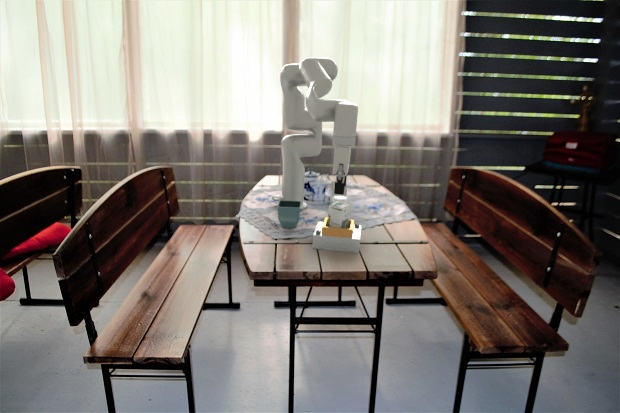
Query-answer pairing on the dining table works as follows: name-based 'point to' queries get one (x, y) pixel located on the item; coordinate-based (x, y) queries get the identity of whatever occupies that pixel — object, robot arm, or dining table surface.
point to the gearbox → (337, 237)
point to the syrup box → (339, 215)
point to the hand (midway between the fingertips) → (340, 189)
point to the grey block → (333, 191)
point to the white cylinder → (340, 198)
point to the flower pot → (289, 213)
